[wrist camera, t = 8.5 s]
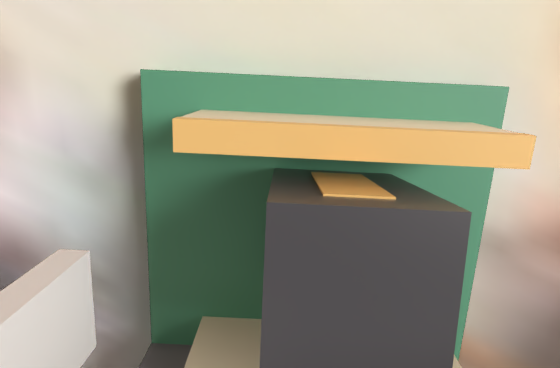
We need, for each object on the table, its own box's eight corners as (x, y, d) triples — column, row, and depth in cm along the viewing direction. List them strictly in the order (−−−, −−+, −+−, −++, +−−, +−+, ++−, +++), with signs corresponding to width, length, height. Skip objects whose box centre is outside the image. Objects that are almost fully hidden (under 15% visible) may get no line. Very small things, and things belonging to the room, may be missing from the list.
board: (424, 465, 18) (470, 591, 14) (165, 451, 18) (125, 573, 14) (490, 86, 14) (588, 88, 9) (152, 70, 14) (88, 65, 10)
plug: (380, 283, 14) (448, 398, 8) (269, 278, 14) (258, 388, 8) (390, 172, 14) (472, 209, 8) (274, 166, 14) (266, 199, 8)
